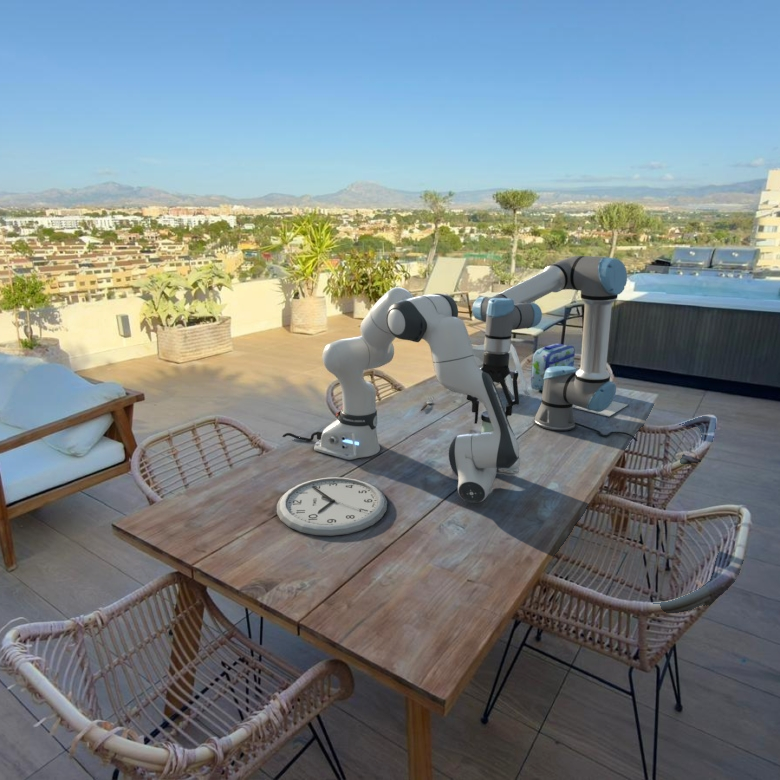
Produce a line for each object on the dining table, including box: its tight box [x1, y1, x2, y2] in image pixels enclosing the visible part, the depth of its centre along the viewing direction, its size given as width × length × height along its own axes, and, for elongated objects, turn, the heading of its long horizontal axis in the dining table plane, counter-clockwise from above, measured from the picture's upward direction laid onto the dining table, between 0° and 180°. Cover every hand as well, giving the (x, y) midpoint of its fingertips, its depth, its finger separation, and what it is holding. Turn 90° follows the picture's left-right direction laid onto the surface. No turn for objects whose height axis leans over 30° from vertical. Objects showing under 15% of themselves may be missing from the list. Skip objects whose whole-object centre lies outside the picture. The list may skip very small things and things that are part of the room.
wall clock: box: [276, 476, 388, 537], centre depth 142 cm, size 30×2×30 cm
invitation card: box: [573, 400, 629, 418], centre depth 226 cm, size 21×1×15 cm
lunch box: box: [530, 343, 576, 391], centre depth 249 cm, size 26×11×21 cm, turn 134°
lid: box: [480, 410, 491, 423], centre depth 160 cm, size 6×6×2 cm
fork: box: [420, 396, 435, 411], centre depth 223 cm, size 3×16×2 cm, turn 160°
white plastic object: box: [472, 343, 531, 397], centre depth 245 cm, size 37×45×31 cm
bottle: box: [481, 419, 494, 433], centre depth 163 cm, size 5×5×18 cm
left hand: (489, 450), depth 164 cm, fingers closed on bottle, 5 cm apart
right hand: (490, 423), depth 161 cm, fingers open, 8 cm apart
